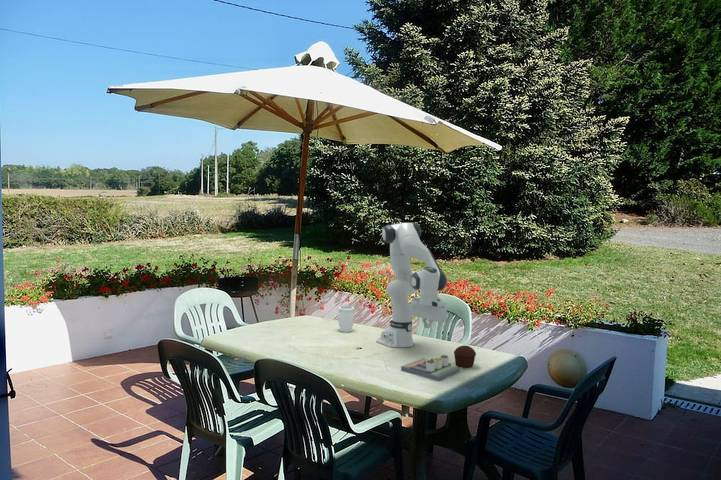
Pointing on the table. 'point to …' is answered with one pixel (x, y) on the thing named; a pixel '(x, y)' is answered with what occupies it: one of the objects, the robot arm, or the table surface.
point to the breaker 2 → (445, 360)
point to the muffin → (464, 357)
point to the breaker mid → (438, 363)
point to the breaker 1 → (430, 366)
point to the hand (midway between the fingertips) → (427, 327)
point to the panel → (420, 369)
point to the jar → (346, 318)
